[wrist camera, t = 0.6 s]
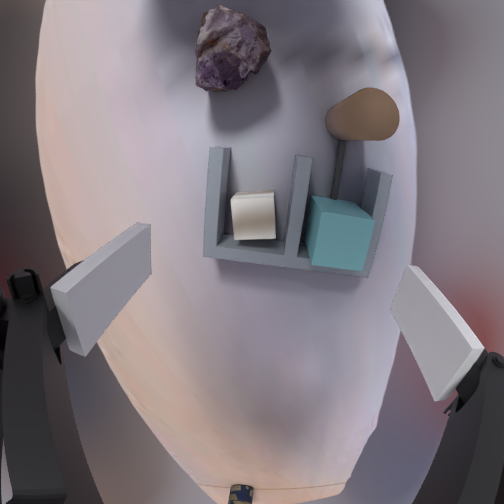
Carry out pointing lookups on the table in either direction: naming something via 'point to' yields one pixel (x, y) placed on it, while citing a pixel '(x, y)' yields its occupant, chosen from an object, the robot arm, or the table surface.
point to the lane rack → (289, 249)
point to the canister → (240, 494)
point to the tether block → (332, 209)
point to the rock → (229, 49)
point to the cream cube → (253, 215)
